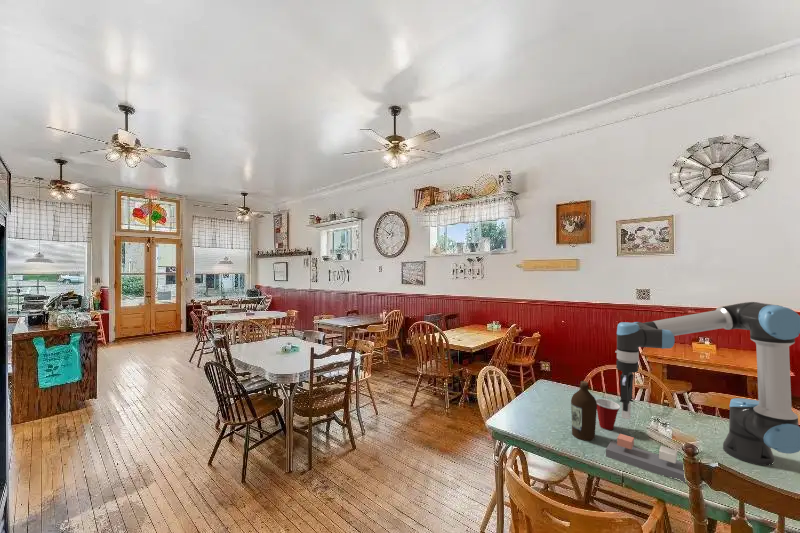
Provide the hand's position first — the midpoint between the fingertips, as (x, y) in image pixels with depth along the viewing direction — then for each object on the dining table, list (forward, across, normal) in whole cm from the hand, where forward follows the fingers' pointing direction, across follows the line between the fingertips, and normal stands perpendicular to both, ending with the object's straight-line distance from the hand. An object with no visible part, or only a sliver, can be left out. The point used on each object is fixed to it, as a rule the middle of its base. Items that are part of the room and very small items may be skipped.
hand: (626, 417), depth 145 cm
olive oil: (+17, -7, -18) cm, 25 cm away
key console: (+16, 0, +7) cm, 18 cm away
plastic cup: (+17, -24, -12) cm, 32 cm away
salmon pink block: (+11, 0, 0) cm, 11 cm away
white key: (+11, 0, +14) cm, 18 cm away
